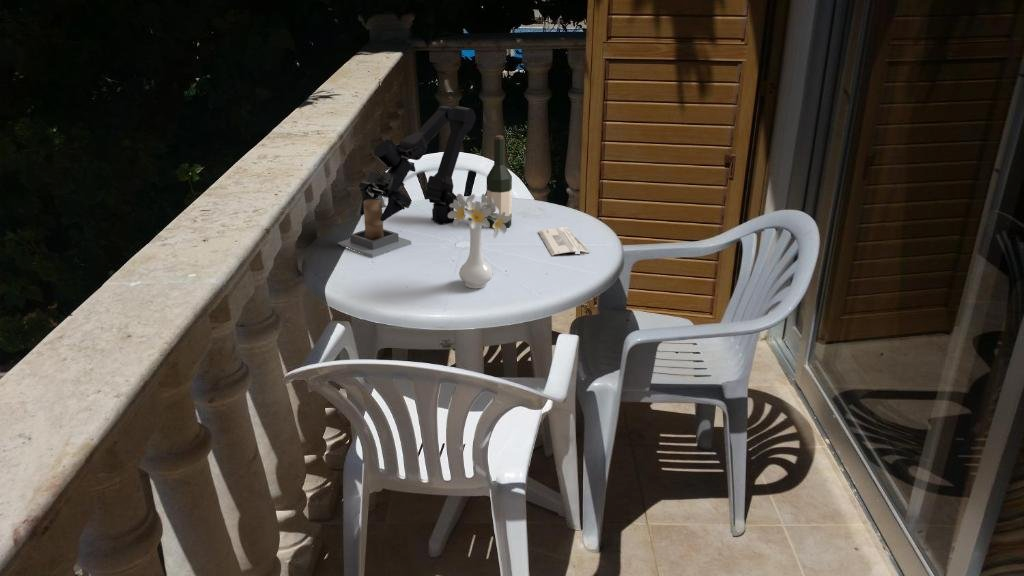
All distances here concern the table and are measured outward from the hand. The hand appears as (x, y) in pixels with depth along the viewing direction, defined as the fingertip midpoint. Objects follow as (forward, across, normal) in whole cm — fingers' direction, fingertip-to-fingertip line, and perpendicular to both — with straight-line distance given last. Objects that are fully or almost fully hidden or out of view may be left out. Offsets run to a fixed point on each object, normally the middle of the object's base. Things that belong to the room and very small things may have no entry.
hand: (371, 217), depth 249 cm
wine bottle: (-22, +17, +36) cm, 45 cm away
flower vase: (+8, +46, +5) cm, 47 cm away
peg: (+5, 0, +6) cm, 8 cm away
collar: (+6, 0, +7) cm, 9 cm away
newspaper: (-22, +44, +36) cm, 61 cm away
